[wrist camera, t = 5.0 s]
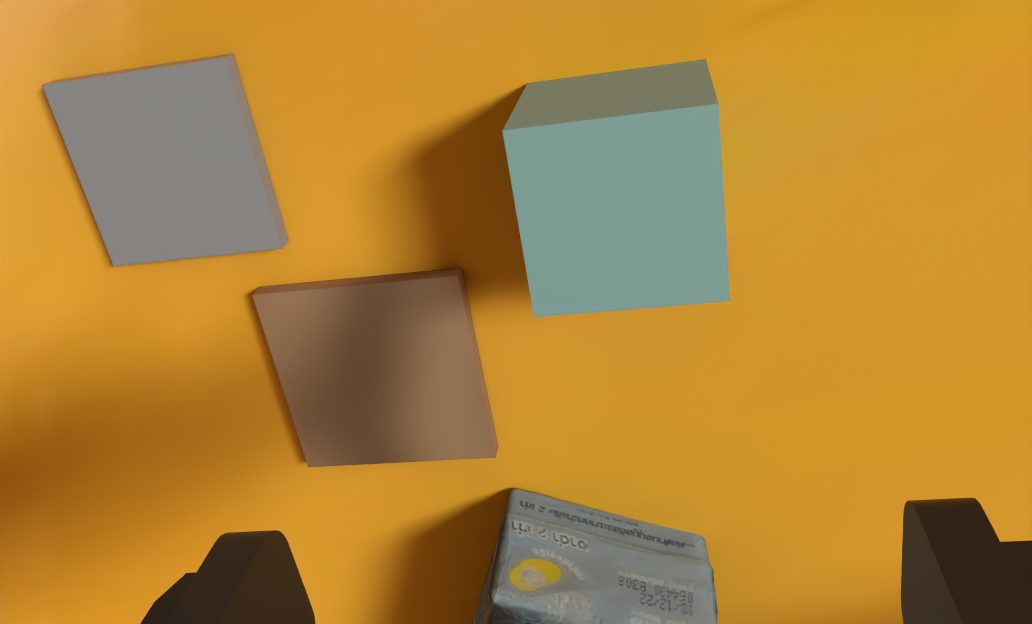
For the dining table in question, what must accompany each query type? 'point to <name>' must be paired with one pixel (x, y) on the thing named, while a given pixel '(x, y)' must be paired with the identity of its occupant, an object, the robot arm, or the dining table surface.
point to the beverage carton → (592, 569)
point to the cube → (620, 190)
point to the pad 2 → (380, 368)
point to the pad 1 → (169, 160)
